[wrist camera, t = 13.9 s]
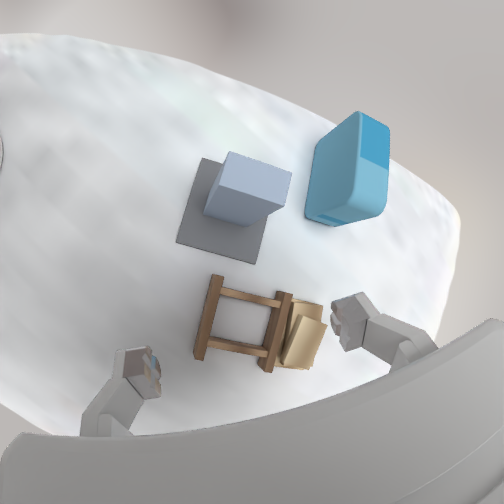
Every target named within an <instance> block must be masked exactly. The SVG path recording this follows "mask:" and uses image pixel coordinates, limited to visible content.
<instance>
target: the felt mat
mask: <svg viewBox="0 0 504 504" xmlns="http://www.w3.org/2000/svg"><path fill="white" fill-rule="evenodd" d="M222 165H223V164H221V163H218V162H215V161H212V160H208V159H205V158H202V160H201V163H200V166H199V169H198V172H197V175H196V178H195V181H194V184H193V187H192V190H191V193H190V197H189V200H188V203H187V206H186V209H185V213H184V216H183V219H182V223H181V226H180V230H179V233H178V237H177V240H176V242H177V243H180V244H184V245H188V246H191V247H195V248H198V249H202V250H205V251H209V252H212V253H216V254H219V255H223V256H227V257H230V258H234V259H237V260H241V261H245V262H248V263H252V264H256V260H257V257H258V253H259V249H260V245H261V241H262V237H263V233H264V229H265V225H266V221H267V217H268V215H267V216H265V217H264V218H262V219H260V220H258V221H256V222H255V223H253V224H251V225H249V226H247V227H243V226H240V225H237V224H233V223H230V222H227V221H223V220H220V219H217V218H213V217H210V216H206V215H203V212H204V209H205V205H206V202H207V199H208V195H209V192H210V190H211V188H212V186H213V183H214V181H215V179H216V177H217V175H218V173H219V171H220V169H221V167H222Z"/></svg>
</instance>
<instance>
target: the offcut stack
mask: <svg viewBox="0 0 504 504" xmlns="http://www.w3.org/2000/svg"><path fill="white" fill-rule="evenodd" d="M322 310H323V306H322V305H318V304H314V303H310V302H306V301H301V300H297V299H293V298H292V300H291V304H290V308H289V312H288V316H287V320H286V324H285V327H284V331H283V335H282V339H281V342H280V346H279V350H278V353H277V357H276V360H275V364H274V366H276V367H283V368H291V369H299V370H304V369H306V370H309V369H310V366H313V361H314V357H315V355H316V352H317V350H318V348H319V345H320V343H321V340H322V338H323V335H324V333H325V330H326V328H327V325H326V324H323V323H321V316H322Z"/></svg>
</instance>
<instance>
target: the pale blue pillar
mask: <svg viewBox="0 0 504 504" xmlns="http://www.w3.org/2000/svg"><path fill="white" fill-rule="evenodd" d="M291 176H292V173H291V172H288V171H285V170H283V169H280V168H277V167H274V166H272V165H269V164H266V163H263V162H260V161H257V160H255V159H252V158H249V157H246V156H243V155H240V154H237V153H234V152H231V151H229V153H228V155H227V157H226V159H225V161H224V163H223V165H222V167H221V169H220V171H219V173H218V175H217V177H216V179H215V181H214V183H213V186H212V188H211V190H210V192H209V195H208V199H207V202H206V205H205V209H204V212H203V215H206V216H210V217H213V218H217V219H220V220H223V221H227V222H230V223H233V224H237V225H240V226H243V227H247V226H249V225H251V224H253V223H255V222H256V221H258V220H260V219H262V218H264V217H265V216H267V215H269V214H271V213H273V212H275V211H276V210H278V209H280V208H282V207H284V206H285V202H286V197H287V193H288V189H289V184H290V180H291Z"/></svg>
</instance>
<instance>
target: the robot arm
mask: <svg viewBox="0 0 504 504" xmlns="http://www.w3.org/2000/svg"><path fill="white" fill-rule="evenodd" d="M2 156H3V147H2V141H1V137H0V168H1V163H2ZM331 309H332V311H333V312H332V314H331V315H330V321H331V326H332V329H333V331H334V333H335V335H337V336H340V340H339V342H340V344H341V345H342V347H343V349H344V351H345V352H347V351H350V350H353V349H356V348H359V347H362V348H364V349H366V350H367V351H369V352H370V353H372V354H374V355H375V356H377V357H378V358H380V359H382V360H383V361H385V362H387V363H388V364H390V365H392V366H391V368H390V371H389V373H388V374H386V375H384V376H382V377H380V378H377V379H375V380H372V381H370V382H368V383H365V384H363V385H360V386H358V387H355V388H353V389H350V390H347V391H345V392H342V393H339V394H336V395H334V396H331V397H328V398H325V399H322V400H319V401H316V402H313V403H310V404H306V405H303V406H300V407H296V408H293V409H290V410H286V411H282V412H279V413H275V414H271V415H267V416H263V417H259V418H255V419H251V420H246V421H241V422H237V423H232V424H227V425H221V426H216V427H210V428H204V429H197V430H191V431H183V432H175V433H166V434H155V435H142V436H134V435H133V434H132V433H131V432H130V431H128V430H129V428H130V426H131V424H132V422H133V420H134V418H135V416H136V415H137V413H138V411H139V409H140V407H141V405H142V404H143V402H144V399H151V398H158V397H161V384H160V383H159V381H158V380H159V378H160V377H161V370H160V365H159V363H158V360H157V359H156V357H154V356H152V350H151V349H150V347H149V346H143V347H136V348H129V349H123V350H117V352H116V354H115V360H114V367H113V374H112V379H110V380H108V382H107V383H106V384H105V385H104V387H103V388H102V389H101V391H100V392H99V393H98V394H97V396H96V397H95V398H94V400H93V401H92V402H91V403H90V405H89V406H88V407H87V409H86V410H85V411H84V413H83V414H82V420H81V428H80V437H78V436H59V435H46V434H37V433H29V432H22V433H20V434H19V435H18V436H17V437H16V438H15V439H14V440H13V441H12V442H11V443H10V444H9V446H8V447H7V448H6V449H5V451H4V453H3V455H2V458H1V461H0V504H504V322H503V321H500V320H497V319H493V318H490V319H487V320H485V321H484V322H482V323H481V324H479V325H478V326H476V327H475V328H473V329H471V330H470V331H468V332H466V333H465V334H463V335H462V336H460V337H458V338H457V339H455V340H453V341H451V342H450V343H448V344H446V345H444V346H443V347H441V348H438V347H437V346H436V344H435V343H434V342H433V340H432V339H431V338H430V337H429V335H428V334H427V333H426V331H424V330H422V329H419V328H417V327H414V326H412V325H410V324H407V323H405V322H402V321H400V320H398V319H395V318H393V317H391V316H388V315H386V314H380V313H379V311H378V310H377V309H376V308H375V306H374V305H373V304H372V302H371V301H370V300H369V298H368V297H367V296H366V295H365V293H363V292H360V293H357V294H354V295H351V296H348V297H344V298H341V299H338V300H335V301H332V303H331Z"/></svg>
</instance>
